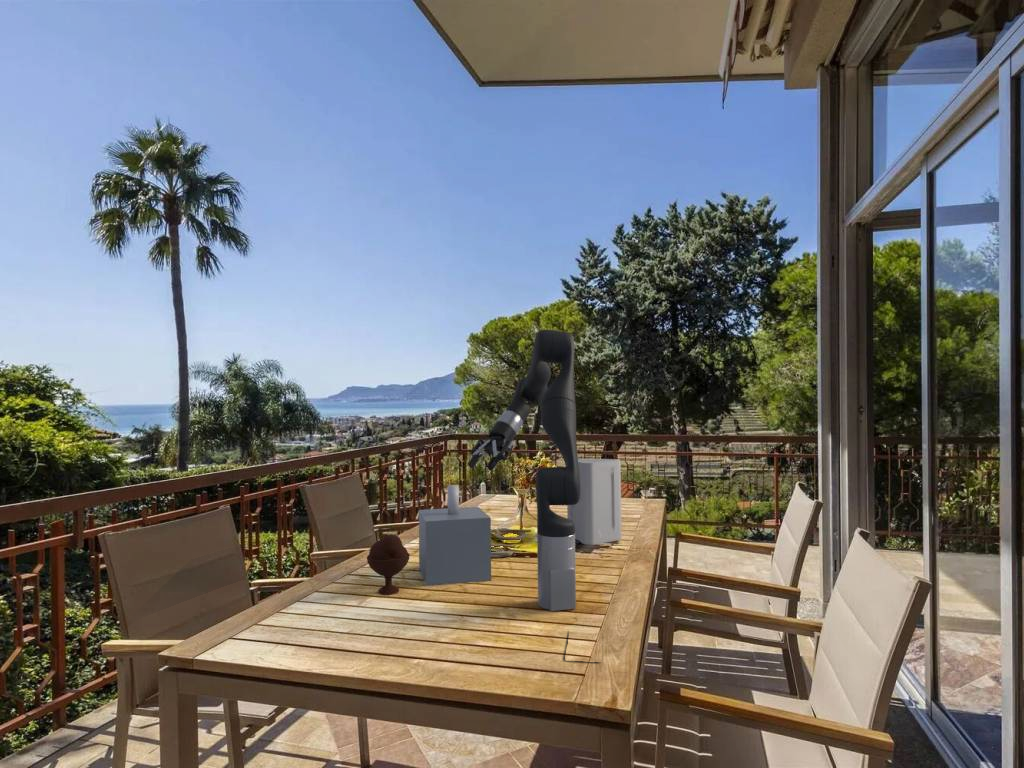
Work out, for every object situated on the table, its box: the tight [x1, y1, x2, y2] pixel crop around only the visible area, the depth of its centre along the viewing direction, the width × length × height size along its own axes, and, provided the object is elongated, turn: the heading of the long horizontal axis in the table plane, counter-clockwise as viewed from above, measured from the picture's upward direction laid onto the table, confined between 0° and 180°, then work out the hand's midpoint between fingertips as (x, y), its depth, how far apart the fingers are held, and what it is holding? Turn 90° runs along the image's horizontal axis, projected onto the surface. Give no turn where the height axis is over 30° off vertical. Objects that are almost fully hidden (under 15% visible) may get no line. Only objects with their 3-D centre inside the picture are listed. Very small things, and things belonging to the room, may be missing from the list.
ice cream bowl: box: [366, 534, 411, 596], centre depth 159 cm, size 11×11×15 cm
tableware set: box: [491, 528, 532, 559], centre depth 209 cm, size 35×29×4 cm
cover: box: [418, 484, 492, 587], centre depth 174 cm, size 18×18×25 cm
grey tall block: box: [566, 458, 623, 546], centre depth 215 cm, size 19×15×28 cm
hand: (479, 467), depth 182 cm, fingers open, 8 cm apart
